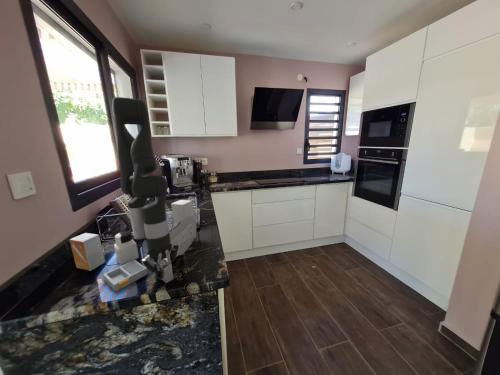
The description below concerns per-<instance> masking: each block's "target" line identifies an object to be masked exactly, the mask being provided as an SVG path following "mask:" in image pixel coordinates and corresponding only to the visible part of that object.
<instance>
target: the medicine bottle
mask: <svg viewBox="0 0 500 375" xmlns="http://www.w3.org/2000/svg"><path fill="white" fill-rule="evenodd" d="M132 234H133V233H132V232H131V231H121V232H119V233H116V234H115V236H114V240H115V243H114V244H113V247H114V252H115V256H116V260H117V261H118V263H119V265H120V266H122V265H124V264H126V263H128V262H131V261H133V260H137V259H139V258H140V257H139V251H138V245H137V242H135V241H134V238H133V235H132Z"/></svg>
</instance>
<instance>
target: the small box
mask: <svg viewBox="0 0 500 375" xmlns="http://www.w3.org/2000/svg"><path fill="white" fill-rule="evenodd" d="M68 241H69V244H70V247H71V251H72V255H73V259H74V263H75V266H76V268H77V269H80V270H86V271H89V272H92V270H95V269H96V268H98V267H99V266H101V265H103V264H105V263H106V260H105V256H104V250H103V248H102V247H103V246H102V243H101V239H100V235H99V234H96V233H88V232H84V233H82V234H80V235H77V236H74V237H72V238H70V239H69V240H68Z"/></svg>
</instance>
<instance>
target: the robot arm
mask: <svg viewBox="0 0 500 375" xmlns="http://www.w3.org/2000/svg"><path fill="white" fill-rule="evenodd" d="M111 110H112V116H113V121H114V126H115V132H116V142H117V156H118V163H119V169H120V189H121V192H122V193H123V194H124V195H126V196H127V195H128V196H129V195H133V196H134V197H135V198H132V199H130V200H129V201H128V202H127V207H128V212H129V218H130V224H131V228H132V234H133V235H132V236H133V239H135V240H144V239H145V240H146V245H147V249H148V250H147V255H146V256H145V257H144V258H141V259H140V263H141V264H142V265H143V266H145V267H146V268H147V271H148V270H149V271H150V272H151V273H155V277H156V279H158V280H161V279H162V273H161V270H160V269H161V260H162V259H164V260H165V261H167V262H168V263H170V264H171V265H172V261H173V262H174V261H176V258H177V257H176V255H177V251H178V247H179V246H178V245H176V244H173V245H172V244H171V243H170V242H171V241H170V234H169V231H170V227H169V223H168V219H167V214H166V213H167V212H166V199H167V195H168V194H167V193H168V187H169V186H168V181H167V179H166V178H165V177H164V176H163V175H159V174H157V175H152V176H146V175H149V174H152V173H154V172H155V171H156V170H157V167H158V166H157V162H156V158H155V154H154V149H153V144H152V135H151V134H152V133H151V126H150V125H151V124H150V118H149V111H148V106H147V104H146V102H145V101H144V100H143V99H139V98H132V97H123V96H121V97H120V96H115V97H113V99H112V101H111ZM126 125H136V126H138V125H140V129H139V131H138V133H137V135H136V137H134V136H133V135H132V134H131V133H130V132H129V130H128V128H127V127H126ZM151 198H156V199H155V200H154V201H152V202H149V201H148V199H151ZM170 250H171V252H170ZM169 252H170V255H169ZM150 259H152V263H153V266H152V264H151V260H150ZM161 281H162V280H161Z"/></svg>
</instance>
